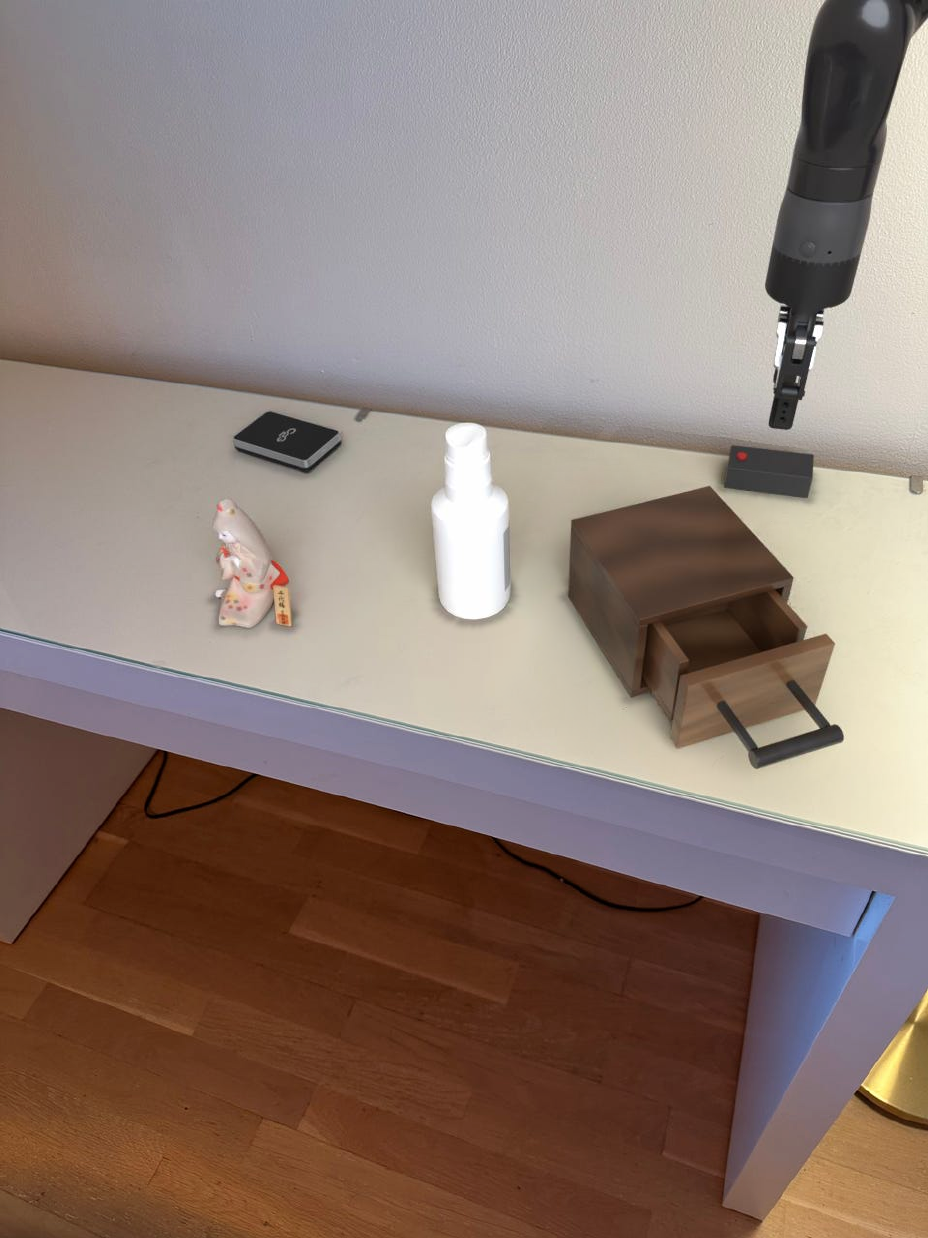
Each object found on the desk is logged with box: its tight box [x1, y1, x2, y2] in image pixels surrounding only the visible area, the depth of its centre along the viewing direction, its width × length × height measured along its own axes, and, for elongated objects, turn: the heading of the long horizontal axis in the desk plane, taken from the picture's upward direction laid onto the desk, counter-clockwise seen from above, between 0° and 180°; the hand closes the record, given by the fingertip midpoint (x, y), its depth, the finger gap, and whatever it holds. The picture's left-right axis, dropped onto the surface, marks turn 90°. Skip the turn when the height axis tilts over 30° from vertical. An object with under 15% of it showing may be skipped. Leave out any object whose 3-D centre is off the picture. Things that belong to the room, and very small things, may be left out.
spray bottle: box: [430, 422, 512, 620], centre depth 82 cm, size 7×7×18 cm
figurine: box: [212, 497, 293, 629], centre depth 85 cm, size 9×7×12 cm
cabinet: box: [567, 485, 795, 698], centre depth 81 cm, size 14×14×9 cm
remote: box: [723, 444, 815, 499], centre depth 98 cm, size 8×4×3 cm, turn 73°
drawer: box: [642, 589, 845, 770], centre depth 74 cm, size 19×12×7 cm, turn 18°
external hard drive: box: [232, 410, 342, 473], centre depth 107 cm, size 7×11×2 cm, turn 60°
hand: (781, 404), depth 93 cm, fingers open, 8 cm apart
